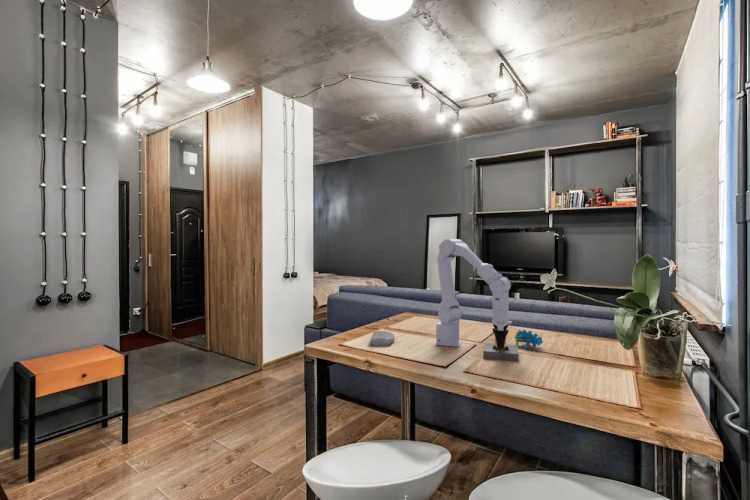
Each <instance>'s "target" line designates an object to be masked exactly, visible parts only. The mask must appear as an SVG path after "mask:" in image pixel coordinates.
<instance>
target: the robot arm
mask: <svg viewBox="0 0 750 500" xmlns="http://www.w3.org/2000/svg"><path fill="white" fill-rule="evenodd" d="M438 245H439V246H438V249H439V251H438V254H437V258H436V260H437V261H436V262H437V270H438V277H439V285H440V291H441V292H440V293H441V302H440V304H439V306H438V308H439V310H438V314H437V315H438V316H437V318H438V320H439V322H437V323H436V327H435V328H436V329H435V335H436V336H435V338H436V339H435V341H436V342H435V346H445V347H457V348H459V347H460V346H461V343H462V340H460V320H461V319H462V317H463V310H462V309H461V306H460V303H459V301H458V300H457V299H456V294H455V286H454V279H453V270H452V262H453V260H454V259H455V258H456V257H457V256H458V257H463V258H464V259H465V260H466V261H467V262H468V263H469V264H471V265H472V266H473V267H474V268H475V269H476V273H477V275H478V276H479V277H480V278H481V279H483V281H484V282H485V283H486V284H487V285H488V286H489V290H490V291H491V294H492V319H491V323H492V326H493V328H492V333H493V335H494V339H495V338H496V343H497V347H498V348H504V345H505V339H506V340H507V335H508V333H509V331H510V330H509V329H508V327H509V325H512V324H513V321H512V320H509V319H510V318H509V317H510V316H509V315H510V314H509V291H510V289H511V287H512V283H511V281H510V279H509V278H508V277H506V276H503V274H502V273H499V272H498V271H497V270H496V269H495V268H494V265H492V263H490V264H489V263H486V262H485V263H484V262H483V261H482V260H481V259H480V258H479V256H477V255H476V254H475V253H474V252H473V251H472V249H470V247H469V246H468V244H467V243H465V242H464V241H463V240H462V239H460V238H458V239H449V238H447V239H444V240H442V242H441V243H440V244H438Z"/></svg>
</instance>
